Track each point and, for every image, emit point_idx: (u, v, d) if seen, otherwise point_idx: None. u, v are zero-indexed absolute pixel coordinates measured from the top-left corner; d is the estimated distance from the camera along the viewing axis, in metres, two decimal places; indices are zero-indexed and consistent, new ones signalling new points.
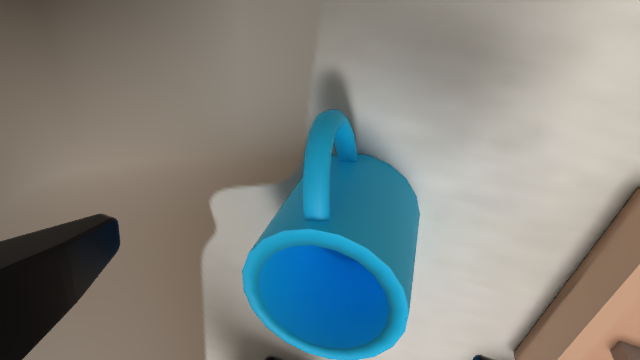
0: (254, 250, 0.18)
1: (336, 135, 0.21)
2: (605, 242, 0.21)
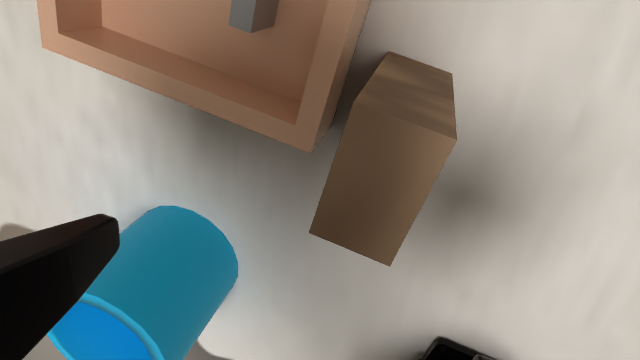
0: None
1: None
2: None
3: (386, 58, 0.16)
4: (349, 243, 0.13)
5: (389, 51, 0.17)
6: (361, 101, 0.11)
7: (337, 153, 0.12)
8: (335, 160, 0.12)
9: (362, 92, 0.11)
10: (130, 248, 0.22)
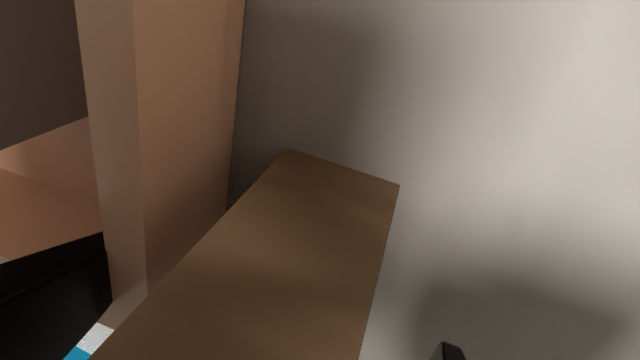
0: None
1: None
2: None
3: (265, 176, 0.09)
4: None
5: (287, 148, 0.10)
6: None
7: None
8: None
9: None
10: None
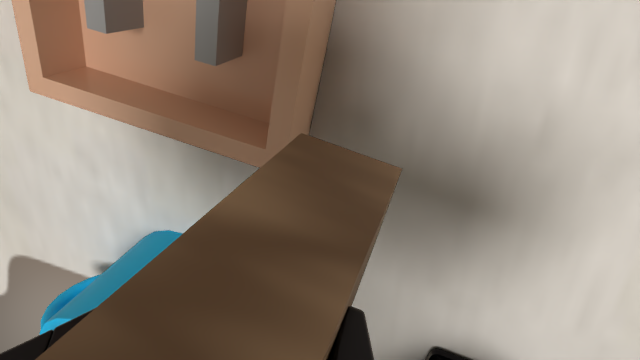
0: None
1: None
2: None
3: (280, 154, 0.10)
4: None
5: (302, 133, 0.11)
6: None
7: None
8: None
9: (100, 309, 0.05)
10: (124, 275, 0.23)
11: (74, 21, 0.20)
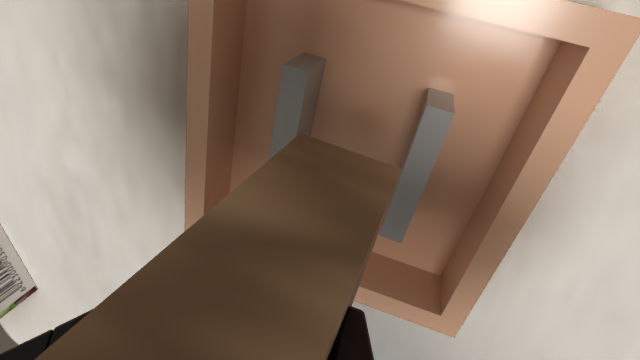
0: None
1: None
2: None
3: (279, 155, 0.10)
4: None
5: (301, 133, 0.11)
6: None
7: None
8: None
9: (95, 312, 0.05)
10: None
11: (228, 168, 0.20)
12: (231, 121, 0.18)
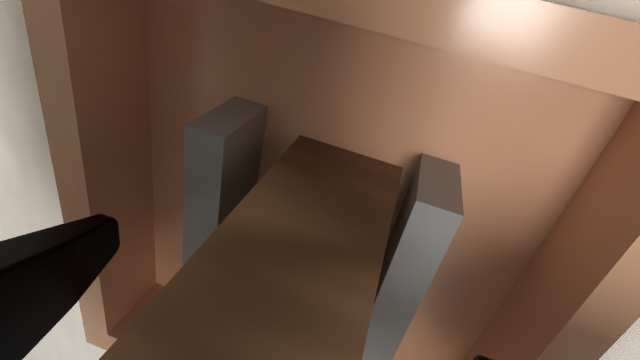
0: None
1: None
2: None
3: (283, 158, 0.09)
4: None
5: (301, 135, 0.11)
6: None
7: None
8: None
9: (129, 332, 0.05)
10: None
11: (147, 245, 0.14)
12: (143, 187, 0.13)
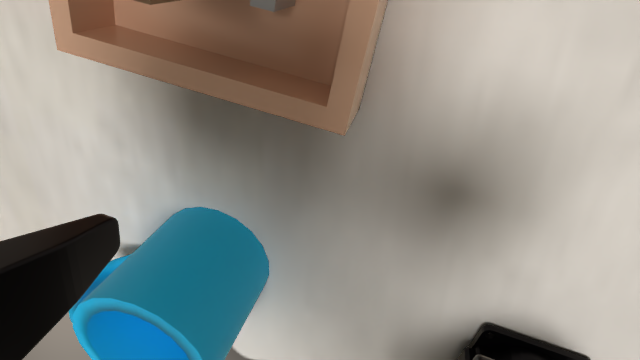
0: None
1: None
2: None
3: None
4: None
5: None
6: None
7: None
8: None
9: None
10: (160, 252, 0.21)
11: None
12: None
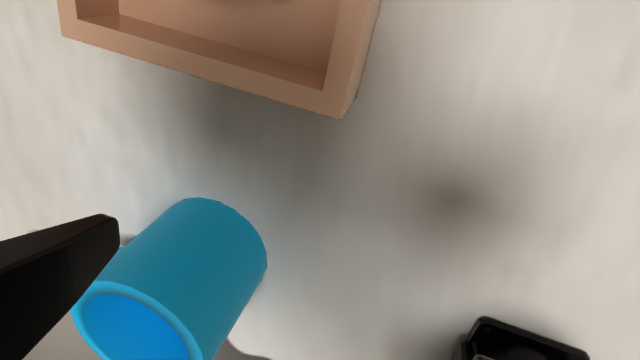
0: None
1: None
2: None
3: None
4: None
5: None
6: None
7: None
8: None
9: None
10: (158, 239, 0.21)
11: None
12: None
